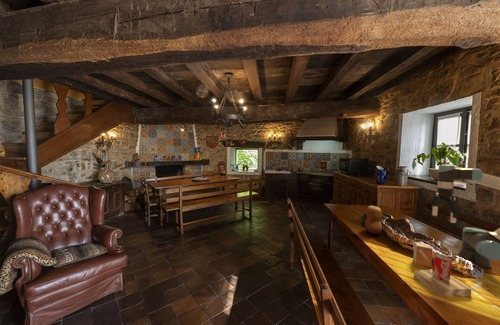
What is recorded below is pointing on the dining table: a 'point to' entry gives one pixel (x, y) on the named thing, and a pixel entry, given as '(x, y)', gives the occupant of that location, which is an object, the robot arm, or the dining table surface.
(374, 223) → the butternut squash
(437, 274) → the soda can
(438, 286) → the square wooden board
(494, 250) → the robot arm
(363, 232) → the dining table surface
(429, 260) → the small box
